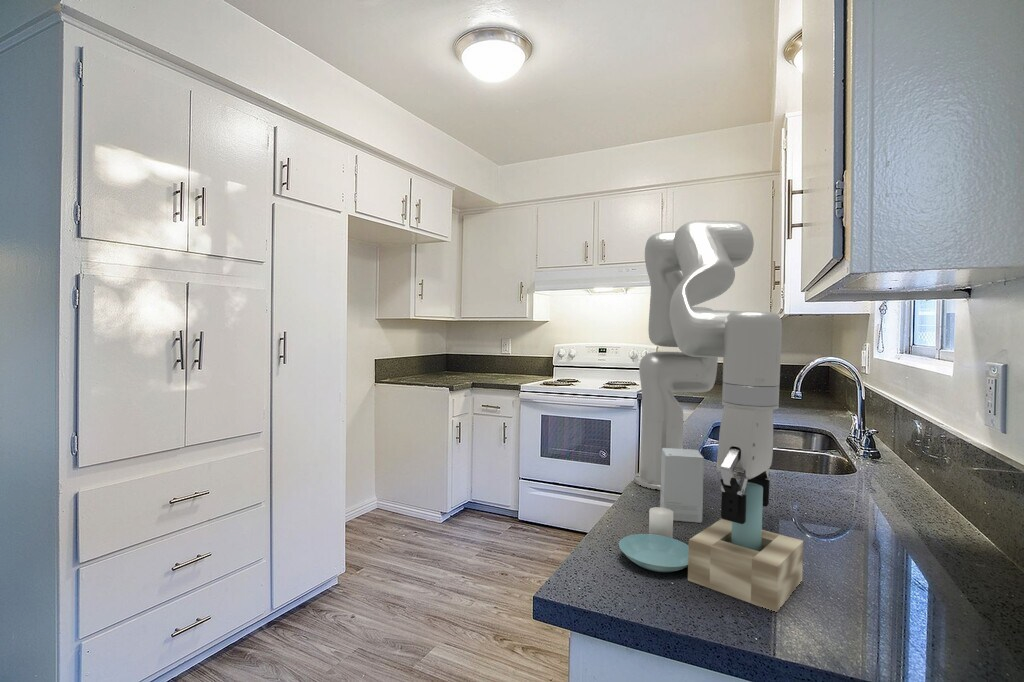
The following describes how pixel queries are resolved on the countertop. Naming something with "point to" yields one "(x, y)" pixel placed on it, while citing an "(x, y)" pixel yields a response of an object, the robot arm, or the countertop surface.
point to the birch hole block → (746, 565)
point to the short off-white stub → (661, 521)
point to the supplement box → (682, 483)
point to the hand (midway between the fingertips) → (745, 511)
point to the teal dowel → (750, 520)
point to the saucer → (655, 552)
